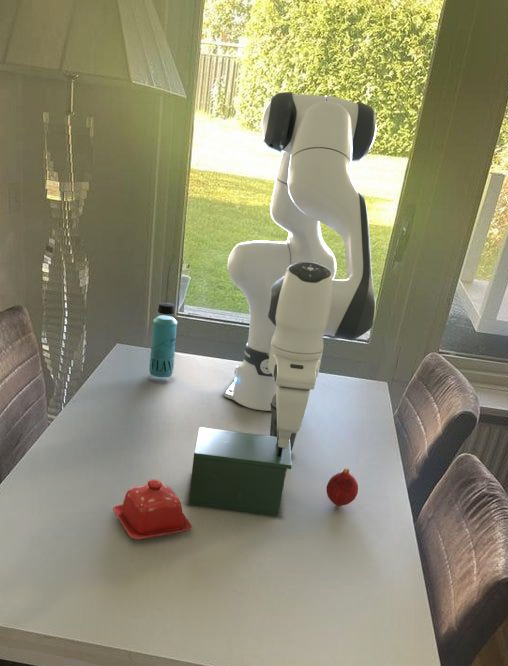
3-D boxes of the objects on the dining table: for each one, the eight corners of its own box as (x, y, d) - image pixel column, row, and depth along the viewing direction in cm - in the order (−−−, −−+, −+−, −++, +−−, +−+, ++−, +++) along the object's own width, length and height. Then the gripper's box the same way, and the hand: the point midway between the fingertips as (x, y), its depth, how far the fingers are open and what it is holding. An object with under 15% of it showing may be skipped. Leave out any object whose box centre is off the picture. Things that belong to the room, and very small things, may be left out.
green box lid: (289, 442, 133) (293, 417, 131) (291, 469, 123) (296, 443, 120) (199, 430, 134) (201, 405, 131) (193, 457, 124) (196, 430, 121)
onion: (356, 515, 130) (365, 477, 127) (326, 512, 130) (334, 475, 126) (350, 499, 136) (358, 463, 132) (320, 497, 135) (328, 460, 132)
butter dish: (109, 511, 124) (111, 469, 120) (169, 503, 128) (173, 462, 124) (131, 546, 115) (134, 502, 111) (194, 536, 119) (200, 493, 115)
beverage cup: (295, 465, 147) (311, 375, 137) (260, 459, 147) (275, 370, 138) (296, 451, 153) (313, 364, 143) (264, 445, 154) (278, 359, 144)
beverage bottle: (146, 381, 182) (151, 305, 173) (151, 372, 188) (156, 299, 179) (170, 384, 182) (176, 308, 172) (174, 376, 188) (181, 302, 178)
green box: (277, 486, 138) (284, 441, 133) (278, 516, 128) (286, 469, 123) (194, 475, 139) (199, 430, 134) (188, 504, 128) (193, 457, 124)
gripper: (275, 342, 129) (264, 411, 135) (277, 379, 111) (264, 456, 117) (309, 346, 129) (296, 415, 135) (316, 384, 111) (301, 461, 117)
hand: (281, 435), depth 126 cm, fingers open, 8 cm apart
